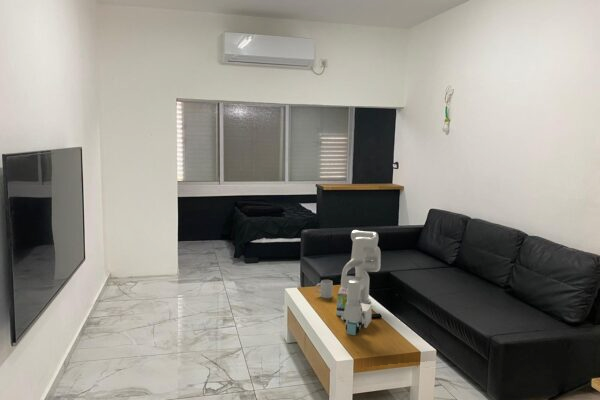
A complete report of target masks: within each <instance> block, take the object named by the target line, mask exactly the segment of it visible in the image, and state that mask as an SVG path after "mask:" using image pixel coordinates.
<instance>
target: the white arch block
mask: <svg viewBox="0 0 600 400" xmlns="http://www.w3.org/2000/svg"><path fill="white" fill-rule="evenodd" d="M360 304H361V305H362V315H363V318H364V320H365V321H366V322H365V323H363V328H364V329H366V328H368V326H369V325H370V324H371V322H372V315H373V313H372V310H373V306H372V305H373V304H370V303H369V304H363V303H360Z"/></svg>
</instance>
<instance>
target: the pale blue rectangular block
mask: <svg viewBox="0 0 600 400" xmlns="http://www.w3.org/2000/svg"><path fill="white" fill-rule="evenodd" d="M360 322H362V320H361V321H360ZM356 327H357V324H356V322H354V321H349V322H348V323H347V332H346V334H347V335H352V336H356V335H357V334H356ZM361 328H362V325H360V327H359V331H360V330H361Z"/></svg>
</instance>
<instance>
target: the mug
mask: <svg viewBox="0 0 600 400" xmlns="http://www.w3.org/2000/svg"><path fill="white" fill-rule="evenodd" d="M333 283H334V282H333V280H330V279H322V280H321V281H320V283H319V282H318V283H317V284H316V286H315V291H316V293H318V294H320V297H321V298H322V299H332V298H333V290H334V289H333V288H334V285H333ZM319 286H320V290H318V288H319Z"/></svg>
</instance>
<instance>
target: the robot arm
mask: <svg viewBox="0 0 600 400" xmlns="http://www.w3.org/2000/svg"><path fill="white" fill-rule="evenodd" d="M350 239H351V241H352V246H351V247H352V249H351V257H350V260H349V261H348V262H346V264H345V265H344V267H343V268H342V271H341V279H340V285H341V286H340V287H343V288H347V302H346V305H345V310H344V314H343V315H342V316H341V317H340V319H341V320H342V321H343V323H344V324H345V331H346V333H347V323H348V322H349V321H354V322H356V324H357V327H356V335H357V334H358V333H359V332H360V330H359V327H360V325H361V326H362V325H364V323H365V322H366V321H365V320H364V318H363V315H362V305H361V304H360V303H363V304H370V303H371V302H372V301H371V299H370V298H369V297H370V276H369V273H368V272H371V273H372V272H375V273H376V272H379V271H380V269H381V266H382V265H381V257H382V255H381V254H382V253H381V249H380V247H379V246H378V243H379V234H378V232H376V231H367V230H365V231H364V230H359V229H353V230H352V231H351V233H350ZM353 268H354V269H355V275H348V272H349V271H350V270H351V269H353ZM360 321H361V322H360Z"/></svg>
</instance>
